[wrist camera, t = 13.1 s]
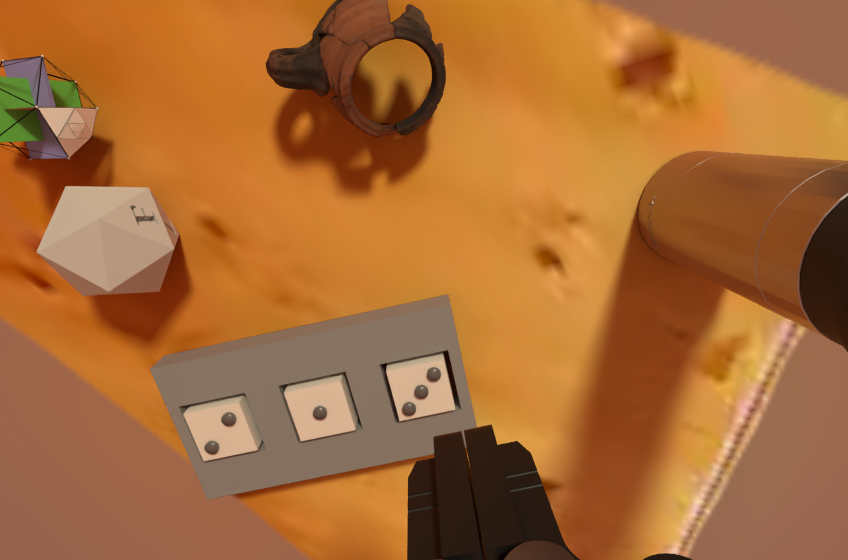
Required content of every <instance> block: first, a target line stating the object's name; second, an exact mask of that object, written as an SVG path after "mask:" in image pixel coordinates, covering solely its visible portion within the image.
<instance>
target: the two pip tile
mask: <svg viewBox="0 0 848 560" xmlns="http://www.w3.org/2000/svg"><path fill="white" fill-rule="evenodd" d="M183 415H184V417H185V419H186V422H187V424H188V426H189V429H190V431H191V433H192V436H193V438H194V440H195V443H196V445H197V447H198V449H199V452H200V454H201V456H202V459H203V461H208V460H213V459H218V458H222V457H227V456H232V455H237V454H242V453H247V452H252V451H257V450H258V448H259V446H260V444H261V442H262V440H263V439H262V437H261V434H260V431H259V429H258V426H257V424H256V421H255V418H254V416H253V413H252V410H251V408H250V405H249V403H248V400H247V397H246V395H245V393H241V394H237V395H232V396H227V397H222V398H218V399H213V400H208V401H203V402H199V403H194V404H191V405H190V406H189V408H188V409H187V410H186V411H185V413H184V414H183Z"/></svg>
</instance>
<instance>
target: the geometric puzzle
mask: <svg viewBox="0 0 848 560" xmlns="http://www.w3.org/2000/svg"><path fill="white" fill-rule="evenodd" d="M43 57H44V56H43V55H41V56H37V57H29V58H22V59H14V60H6V61H4V60H2V61H1V64H2V62H3V64H4V66H1V64H0V67H4V68H5V71H6V75H7V77H0V142H10V143H11V142H16V141H25V142H26V145H27V149H25V150H28V152H29V156H30V157H28V156H27V155H26V154H25V153H23V152H22V151H21V150H20V149H23V148H20V149H18V147H16V146H15V145H14V144H12V143H11V144H12V145H13V146H11V147H14V146H15V148H17V149H18V150H20V151H21V152H22V153H23V154H25V155H26V156H27V157H28V158H29V159H30V160H32V159H61V158H68V159H70V157H71V156H72V155H73V154H74V153H75V152H76V151H77V150H79V149H80V148H81V147H82V146H83V145H84V144H85V143H86V142H87V141H88V140H90V138H91V137H92V133H93V128H94V124H95V119H96V114H97V110H98V109H99V108H98V107H96V106H95V105H94V104H93V105H94V106H95V107H96V108H82V106H81V102H80V98H79V94H78V91H79V90H78V89H77V86H76V84H77V82H76V81H71V80H72V79H71V78H70V77H69V78H70V79H71V80H67V79H64V78H60V77H57V76H54V75H50V74H47V71H46V68H45V64H44V60H43ZM45 59H46V58H45ZM46 60H47V59H46ZM49 62H50V61H49ZM50 64H51V65H52V63H51V62H50ZM52 66H53V65H52ZM54 66H55V65H54ZM54 66H53V67H54ZM55 67H56V66H55ZM55 67H54V68H55ZM56 68H57V67H56ZM56 68H55V69H56ZM56 70H57V69H56ZM59 70H60V69H59ZM57 71H58V70H57ZM60 71H61V70H60ZM58 72H59V71H58ZM61 72H62V71H61ZM59 73H60V72H59ZM60 74H61V73H60ZM64 74H65V73H64ZM48 75H50V76H53V77H57V78H60V79H64V80H67V81H70V82H67V81H54V80H49V79H48ZM61 75H62V74H61ZM65 75H66V74H65ZM66 76H67V75H66ZM79 88H80V87H79ZM80 89H81V88H80ZM81 90H82V89H81ZM79 92H80V91H79ZM80 93H81V92H80ZM81 94H82V93H81ZM84 94H85V93H84ZM82 95H83V94H82ZM85 95H86V94H85ZM86 96H87V95H86ZM87 97H88V96H87ZM90 101H91V100H90ZM91 102H92V101H91ZM92 103H93V102H92ZM1 145H4V144H1ZM6 146H9V145H6ZM1 147H2V146H1ZM3 148H4V147H3ZM5 149H6V148H5ZM8 150H9V149H8ZM10 151H11V150H10ZM15 153H16V152H15ZM17 154H18V153H17ZM22 156H23V155H22ZM24 157H25V156H24Z"/></svg>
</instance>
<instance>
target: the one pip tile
mask: <svg viewBox="0 0 848 560" xmlns="http://www.w3.org/2000/svg"><path fill="white" fill-rule="evenodd" d="M284 395H285V398H286V401H287V403H288V406H289V409H290V412H291V415H292V418H293V420H294V423H295V426H296V429H297V432H298V435H299V438H300V440H301V441H305V440H310V439H315V438H320V437H325V436H330V435H335V434H339V433H344V432H349V431H354V430H356V425H357V420H358V411H357V408H356V405H355V401H354V398H353V395H352V391H351V388H350V385H349V381H348V378H347V375H346V372H341V373H336V374H332V375H327V376H322V377H317V378H313V379H308V380H303V381H298V382H294V383H289V384H288V385H287V388H286V390H285V392H284Z"/></svg>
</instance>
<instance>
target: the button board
mask: <svg viewBox="0 0 848 560" xmlns="http://www.w3.org/2000/svg"><path fill="white" fill-rule="evenodd" d="M446 350H448V352H449V357H450V361H451V365H452V370H453V374H454V379H455V383H456V388H457V392H458V395H455V396H453V398H454V404H455V410H452V411H447V412H442V413H437V414H432V415H427V416H422V417H417V418H413V419H408V420H403V421H400V420H399V417H398V413H397V409H396V406H395V402H394V398H393V395H392V391H391V387H390V384H389V380H388V376H387V373H386V367H385V363H389V362H393V361H398V360H403V359H408V358H412V357H417V356H422V355H427V354H431V353H436V352H441V351H446ZM150 370H151V373H152V375H153V377H154V379H155V382H156V384H157V386H158V388H159V391H160V393H161V395H162V398H163V400H164V402H165V404H166V407H167V409H168V411H169V413H170V416H171V418H172V420H173V422H174V425H175V427H176V429H177V431H178V434H179V436H180V438H181V440H182V443H183V445H184V447H185V449H186V452H187V454H188V456H189V458H190V461H191V463H192V465H193V467H194V470H195V472H196V474H197V476H198V479H199V481H200V483H201V485H202V488H203V490H204V492H205V494H206V497H207V499H208V500H209V499H214V498H218V497H224V496H229V495H234V494H238V493H243V492H248V491H253V490H258V489H263V488H268V487H273V486H278V485H283V484H288V483H293V482H298V481H303V480H308V479H313V478H318V477H323V476H328V475H333V474H338V473H342V472H347V471H352V470H357V469H362V468H367V467H372V466H377V465H382V464H387V463H392V462H397V461H402V460H407V459H412V458H417V457H422V456H427V455H432V454H434V442H433V437H434V436H438V435H443V434H448V433H453V432H458V431H462V435H463V440H464V444H465V448H466V441H465V435H464V430H467V429H472V428H477V426H476V422H475V417H474V412H473V408H472V403H471V398H470V394H469V389H468V385H467V380H466V375H465V371H464V366H463V361H462V357H461V352H460V347H459V343H458V338H457V333H456V329H455V324H454V320H453V315H452V310H451V306H450V301H449V297H448V295H444V296H439V297H435V298H430V299H425V300H421V301H416V302H411V303H407V304H402V305H397V306H393V307H388V308H383V309H379V310H374V311H370V312H365V313H360V314H356V315H351V316H346V317H342V318H337V319H332V320H328V321H323V322H318V323H314V324H309V325H304V326H300V327H295V328H291V329H286V330H281V331H277V332H272V333H267V334H263V335H258V336H253V337H249V338H244V339H239V340H235V341H230V342H225V343H221V344H216V345H212V346H207V347H202V348H198V349H193V350H188V351H184V352H179V353H174V354H170V355H165V356H164V357H162V358H161V359H160V360H159V361H158V362H157V363H156V364H155V365H154V366H153V367H151V368H150ZM341 372H346V375H347V378H348V381H349V385H350V388H351V391H352V395H353V398H354V401H355V405H356V408H357V411H358V420H357V425H356V430H354V431H349V432H344V433H339V434H335V435H330V436H325V437H320V438H315V439H310V440H305V441H301V440H300V438H299V435H298V432H297V429H296V426H295V423H294V420H293V418H292V415H291V412H290V409H289V406H288V403H287V401H286V398H285V395H284V392H285V390H286V388H287V385H288V384H289V383H294V382H298V381H303V380H308V379H313V378H317V377H322V376H327V375H332V374H336V373H341ZM241 393H245V395H246V397H247V400H248V403H249V405H250V408H251V410H252V413H253V416H254V418H255V421H256V424H257V426H258V429H259V431H260V434H261V437H262V439H263V440H262V442H261V444H260V446H259V448H258V450H257V451H252V452H247V453H242V454H237V455H232V456H227V457H222V458H218V459H213V460H208V461H203V459H202V456H201V454H200V452H199V449H198V447H197V445H196V443H195V440H194V438H193V436H192V433H191V431H190V429H189V426H188V424H187V422H186V419H185V417H184V415H183V414H184V413H185V411H186V410H187V409H188V408H189V406H190V405H191V404H194V403H199V402H203V401H208V400H213V399H218V398H222V397H227V396H232V395H237V394H241Z"/></svg>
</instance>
